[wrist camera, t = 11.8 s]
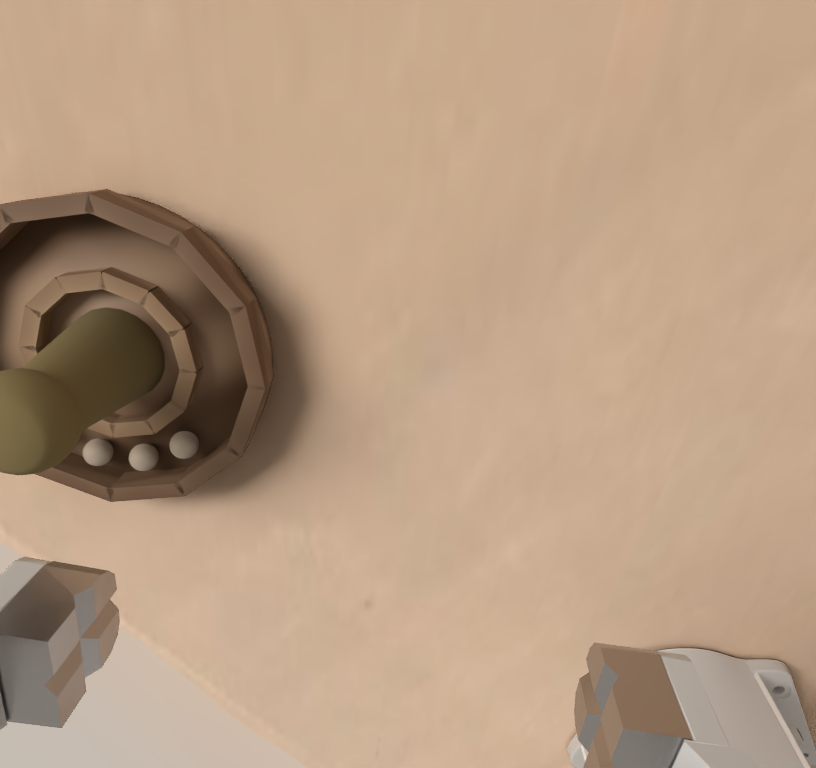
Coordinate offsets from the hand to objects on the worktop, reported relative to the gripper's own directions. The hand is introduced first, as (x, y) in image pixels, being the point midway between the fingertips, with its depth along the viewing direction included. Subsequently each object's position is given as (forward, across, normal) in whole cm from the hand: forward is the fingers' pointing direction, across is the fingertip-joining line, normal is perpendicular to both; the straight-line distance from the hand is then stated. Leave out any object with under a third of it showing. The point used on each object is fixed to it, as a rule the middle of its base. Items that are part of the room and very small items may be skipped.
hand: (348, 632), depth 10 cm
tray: (+27, +18, +7) cm, 34 cm away
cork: (+26, +18, +7) cm, 33 cm away
